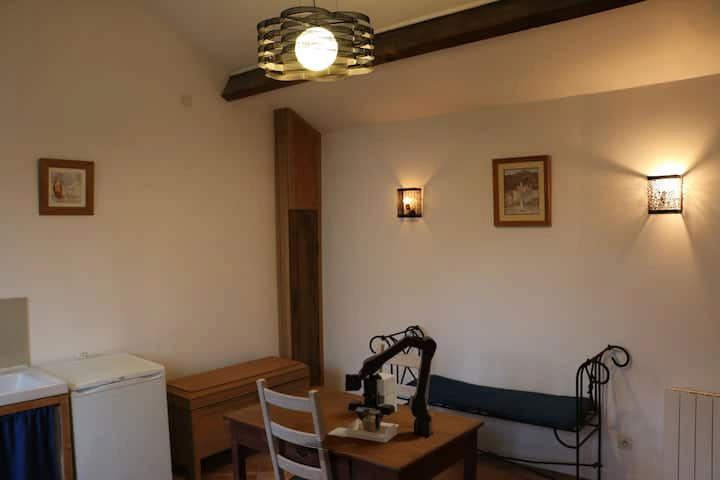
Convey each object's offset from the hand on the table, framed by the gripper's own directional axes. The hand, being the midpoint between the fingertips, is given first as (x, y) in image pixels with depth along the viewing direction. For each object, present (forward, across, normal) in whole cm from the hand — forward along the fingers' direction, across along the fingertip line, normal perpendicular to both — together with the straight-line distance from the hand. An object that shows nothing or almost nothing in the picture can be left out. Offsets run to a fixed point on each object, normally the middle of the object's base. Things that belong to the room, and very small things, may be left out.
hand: (371, 428), depth 243 cm
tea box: (+2, 0, 0) cm, 2 cm away
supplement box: (+4, +10, -30) cm, 32 cm away
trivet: (+3, +13, +2) cm, 13 cm away
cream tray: (+3, 0, 0) cm, 3 cm away
